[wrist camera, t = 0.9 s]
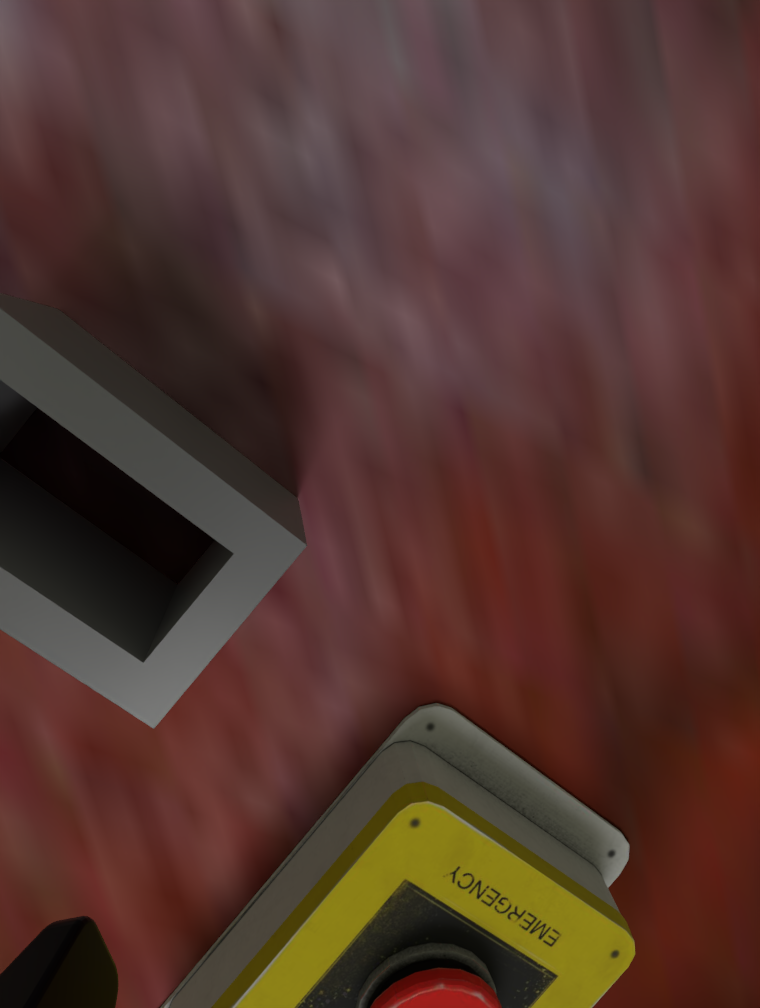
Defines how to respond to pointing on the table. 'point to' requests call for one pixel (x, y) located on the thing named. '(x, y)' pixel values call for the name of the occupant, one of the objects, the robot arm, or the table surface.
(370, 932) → the emergency button
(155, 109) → the table surface
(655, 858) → the table surface
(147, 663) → the grey open bin
